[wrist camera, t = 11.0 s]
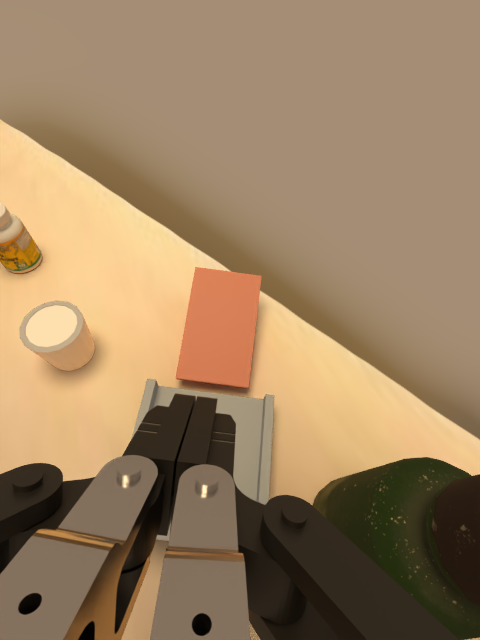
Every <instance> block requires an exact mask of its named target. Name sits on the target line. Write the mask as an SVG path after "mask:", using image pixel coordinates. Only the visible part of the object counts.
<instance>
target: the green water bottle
mask: <svg viewBox="0 0 480 640" xmlns="http://www.w3.org/2000/svg"><path fill="white" fill-rule="evenodd" d="M313 507H314V508H315V509H317V510H318V511H319V512H320V513H321V514H322V515H323V516H324V517H325V518H326V519H327V520H329V521H330V522H331V523H332V524H333V525H334V526H335V527H336V528H337V529H338V530H340V531H341V532H342V533H343V534H344V535H345V536H346V537H347V538H348V539H349V540H350V541H352V542H353V543H354V544H355V545H356V546H357V547H358V548H359V549H360V550H361V551H363V552H364V553H365V554H366V555H367V556H368V557H369V558H370V559H371V560H372V561H373V562H375V563H376V564H377V565H378V566H379V567H380V568H381V569H382V570H383V571H384V572H386V573H387V574H388V575H389V576H390V577H391V578H392V579H393V580H394V581H395V582H396V583H398V584H399V585H400V586H401V587H402V588H403V589H404V590H405V591H406V592H407V593H409V594H410V595H411V596H412V597H413V598H414V599H415V600H416V601H417V602H418V603H419V604H421V605H422V606H423V607H424V608H425V609H426V610H427V611H428V612H429V613H430V614H432V615H433V616H434V617H435V618H436V619H437V620H438V621H439V622H440V623H441V624H442V625H444V626H445V627H446V628H447V629H448V630H449V631H450V632H451V633H452V634H453V635H455V636H456V637H457V638H458V639H459V640H465V639H472V638H479V637H480V474H479V475H475V476H471V475H470V474H469V473H467V472H465V471H463V470H461V469H459V468H457V467H455V466H452V465H450V464H448V463H446V462H444V461H441V460H437V459H433V458H428V457H424V458H410V459H403V460H399V461H396V462H393V463H389V464H386V465H383V466H379V467H376V468H373V469H369V470H366V471H362V472H359V473H356V474H352V475H349V476H346V477H342V478H339V479H336V480H334V481H331V482H330V483H329V484H328V485H327V486H325V487H324V488H323V489H322V490H321V491H320V492H319V493H318V495H317V496H316V498H315V500H314V504H313Z"/></svg>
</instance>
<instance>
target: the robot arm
mask: <svg viewBox="0 0 480 640" xmlns="http://www.w3.org/2000/svg"><path fill="white" fill-rule="evenodd" d="M217 400H218V399H216V398H209V397H201V396H197V398H196V396H193V395H185V394H178V393H175V394H174V397H173V399H172V401H171V403H170V405H169V407H167V406H159V405H157V406H156V407H154V408H153V409H151V410H150V411H148V412H147V413H146V415H145V417H144V418H143V420H142V423H141V424H140V426H139V427H138V429H137V431H136V433H135V434H134V436H133V438H132V440H131V441H130V443H129V445H128V447H127V448H126V450H125V452H124V454H123V456H122V457H118V458H116V459H113V460H111V461H110V462H108V463H107V464H106V465H105V466H104V467H103V468H102V469H101V471H100V472H99V473H98V475H97V476H96V477H93V478H89V479H82V480H73V481H64V482H63V475H62V472H61V470H60V469H59V468H57V467H56V466H54V465H51V464H46V463H34V464H28V465H24V466H21V467H18V468H15V469H13V470H10V471H8V472H5V473H2V474H0V640H121V638H122V636H123V633H124V630H125V628H126V625H127V623H128V620H129V617H130V615H131V612H132V609H133V607H134V604H135V601H136V599H137V596H138V593H139V591H140V588H141V585H142V583H143V580H144V578H145V575H146V572H147V570H148V567H149V564H150V556H151V552H152V550H153V547H154V544H155V541H156V537H157V535H163V536H167V534H168V530H169V526H170V523H171V526H170V537H169V543H168V549H166V552H165V557H164V562H163V568H162V574H161V579H160V585H159V591H158V596H157V602H156V608H155V614H154V619H153V625H152V631H151V637H150V640H250V627H249V621H250V623H251V625H252V627H253V628H254V630H255V631H256V633H257V634H258V636H259V637H260V639H261V640H459V639H458V638H457V637H456V636H455V635H453V634H452V633H451V632H450V631H449V630H448V629H447V628H446V627H445V626H444V625H442V624H441V623H440V622H439V621H438V620H437V619H436V618H435V617H434V616H433V615H432V614H430V613H429V612H428V611H427V610H426V609H425V608H424V607H423V606H422V605H421V604H419V603H418V602H417V601H416V600H415V599H414V598H413V597H412V596H411V595H410V594H409V593H407V592H406V591H405V590H404V589H403V588H402V587H401V586H400V585H399V584H398V583H396V582H395V581H394V580H393V579H392V578H391V577H390V576H389V575H388V574H387V573H386V572H384V571H383V570H382V569H381V568H380V567H379V566H378V565H377V564H376V563H375V562H373V561H372V560H371V559H370V558H369V557H368V556H367V555H366V554H365V553H364V552H363V551H361V550H360V549H359V548H358V547H357V546H356V545H355V544H354V543H353V542H352V541H350V540H349V539H348V538H347V537H346V536H345V535H344V534H343V533H342V532H341V531H340V530H338V529H337V528H336V527H335V526H334V525H333V524H332V523H331V522H330V521H329V520H327V519H326V518H325V517H324V516H323V515H322V514H321V513H320V512H319V511H318V510H317V509H315V508H314V507H313V506H312V505H311V504H309V503H308V502H306V501H305V500H303V499H301V498H298V497H295V496H289V495H281V496H276V497H274V498H272V499H270V500H269V501H268V502H267V503H266V505H264V504H262V503H259V502H257V501H254V500H252V499H250V498H249V497H247V496H246V495H244V494H243V493H242V492H241V491H240V490H239V489H238V487H237V486H236V484H235V482H234V477H233V472H234V454H235V434H236V423H235V421H234V420H233V418H232V416H231V415H228V414H221V413H216V408H217Z"/></svg>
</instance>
